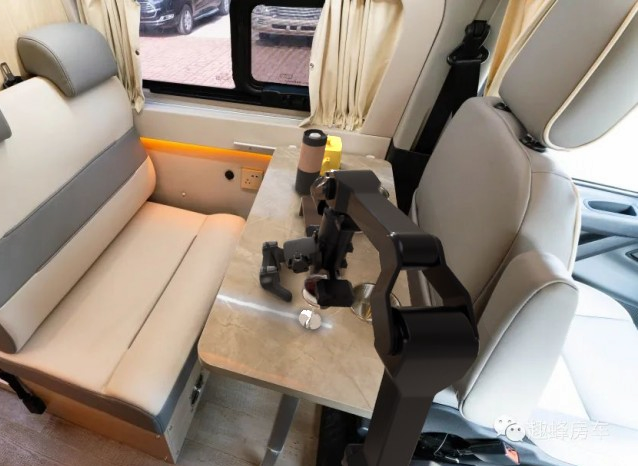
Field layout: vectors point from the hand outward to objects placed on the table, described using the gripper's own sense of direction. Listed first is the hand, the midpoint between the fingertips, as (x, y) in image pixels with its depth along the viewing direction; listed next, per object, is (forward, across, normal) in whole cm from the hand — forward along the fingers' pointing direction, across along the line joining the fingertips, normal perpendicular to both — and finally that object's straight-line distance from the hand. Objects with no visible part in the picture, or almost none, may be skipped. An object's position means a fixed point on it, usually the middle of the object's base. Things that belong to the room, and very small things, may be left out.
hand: (318, 290), depth 68 cm
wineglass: (+11, 0, 0) cm, 11 cm away
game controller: (+11, -12, -7) cm, 18 cm away
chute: (+10, -26, +6) cm, 29 cm away
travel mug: (+11, -53, +6) cm, 54 cm away
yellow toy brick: (+11, -67, +14) cm, 69 cm away
